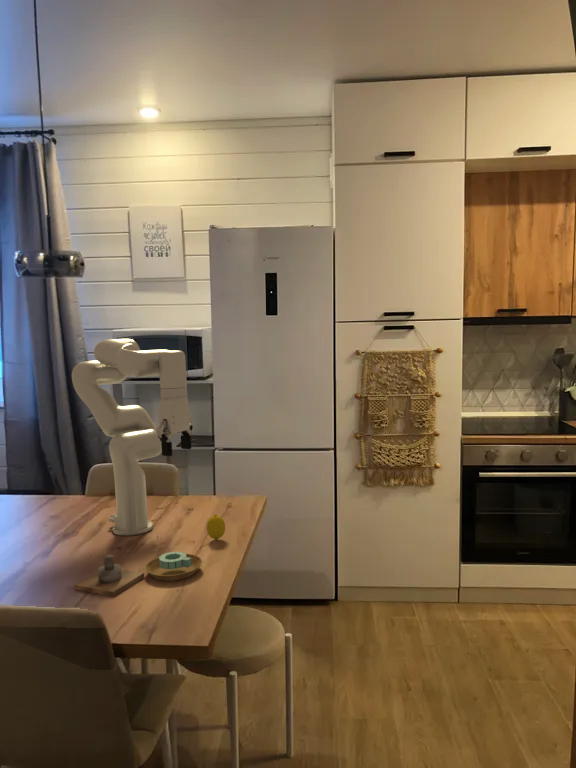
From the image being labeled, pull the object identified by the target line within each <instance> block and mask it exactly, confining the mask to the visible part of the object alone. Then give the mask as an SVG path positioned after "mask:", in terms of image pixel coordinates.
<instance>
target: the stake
mask: <svg viewBox="0 0 576 768" xmlns="http://www.w3.org/2000/svg"><path fill="white" fill-rule="evenodd" d="M103 564H104V565H102V566H100V567H98V569H97V572H96V573H94V574H92V575H90V576H89V577H86V578H85V579H82V580H81V581H79V582H78V583H76V584H74V589H77V590H76V591H80V590H81V592H85V591H86V593H91V594H96V593H98V594H97V595H101V594H102V595H101V596H107V595H108V597H112V596H113V598H114V597H116V596H117V595H119V594H120V593H122V592H124V591H125V590H127V589H128V588H130V587H132V586H133V585H134V584H136V583H138V582H139V581H141V580H143V579H144V578H145V572H142V571H141V572H140V571H134V570H129V569H123V568H122V566H121V565H120V564H117V563H115V556H114V555H113V554H109V555H108V554H107V555H105V556H103ZM123 590H124V591H123ZM115 595H116V596H115Z"/></svg>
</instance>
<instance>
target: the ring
mask: <svg viewBox="0 0 576 768" xmlns="http://www.w3.org/2000/svg"><path fill="white" fill-rule="evenodd" d="M186 554H187V553H185V552H184V551H170V552H166V553H164V554H163V553H162V554H161V555H160V556H158V557H159V566H160V567H161V568H163V569H175V568H176V569H177V568H181V567H187V568H189V567H190V566H191V565H192V562H191V558H188V557H187V556H186Z"/></svg>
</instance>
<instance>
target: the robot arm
mask: <svg viewBox="0 0 576 768" xmlns="http://www.w3.org/2000/svg"><path fill="white" fill-rule="evenodd" d="M93 355H94V358H95V359H94V360H85V361H82V362H79V363H77V364H76V365H75V366H74V367H73V369H72V371H71V380H72V382H71V383H72V385H73V388H74V390H75V393H76V394H77V396H78V397H79V399H80V400H81V401H82V402H83V403H84V404H85V405H86V406H87V408H88V409H89V411H90V412H91V414H92V416H93V417H94V420H95V421H96V423H97V425H98V426H99V428H100V429H101V430H102V432H103V434H104V435H106V436H107V437H112V438H111V439H110V440H109V441H110V442H109V446H108V448H109V455H110V459H111V463H112V468H113V476H114V490H115V505H116V506H115V507H116V513H112V514H110V517H109V518H108V521H109V522H111V523H114V526H113V527H112V532H113V534H115V535H118V536H124V537H125V536H137V535H141V534H144V533H148V532H150V531H151V530H153V528H154V524H153V522H152V521H151V520H149V519H148V515H149V514H148V503H147V502H148V501H147V500H148V499H147V486H146V485H147V484H146V474H145V471H144V470H143V468H142V467H141V465H140V464H139V461H143V460H147V459H151V458H155V457H157V456H159V455H162V456H163V457H172V456H173V443H172V441H171V440H172V438H173V435H176V434H180V433H181V435H180V447H181V449H183V450H191V449H192V434H193V432H192V431H193V428H194V427H193V425H194V421H195V420H194V418H193V417H191V415H190V414H191V412H190V411H191V410H190V404H189V400H188V384H187V381H188V380H187V364H186V363H187V362H186V354H185V352H184V351H182V350H169V349H148V350H141V348H140V346H139V344H138V343H137V342H136V341H135V340H134V339H131V338H117V339H116V338H115V339H114V338H113V339H111V338H109V339H103V340H101V341H99V342H98V343H97V344H96V345H95V347H94V349H93ZM128 376H129V377H133V378H145V377H152V376H153V377H154V376H159V386H160V387H159V389H160V400H159V402H158V403H159V404H158V405H159V406H158V415H157V417H158V425H157V426H156V424H155V422H154V421H153V419H152V418H151V416H150V414H149V413H148V411H147V410H146V409H145V408H144V407H143V406H140V405H137V404H130V405H120V404H118V403H117V401H116V399H115V398H114V396H113V395H112V394H111V393H110V392H108V390H106V389H104V388H102V387H101V386H104V385H114V384H119V383H122V382H123V381H124V380H126V378H127V377H128Z"/></svg>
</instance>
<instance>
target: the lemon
mask: <svg viewBox="0 0 576 768" xmlns="http://www.w3.org/2000/svg"><path fill="white" fill-rule="evenodd" d="M225 531H226V524H225V521H224V519H223V517H222V516H220V515H217V514H213V515H212V516H210V517H209V518H208V519H207V522H206V532H207V533H206V534H208V536H209V538H211V539H213V540H215V541H218V540H219V539H220V538H222V537H223V536H224V534H225Z"/></svg>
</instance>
